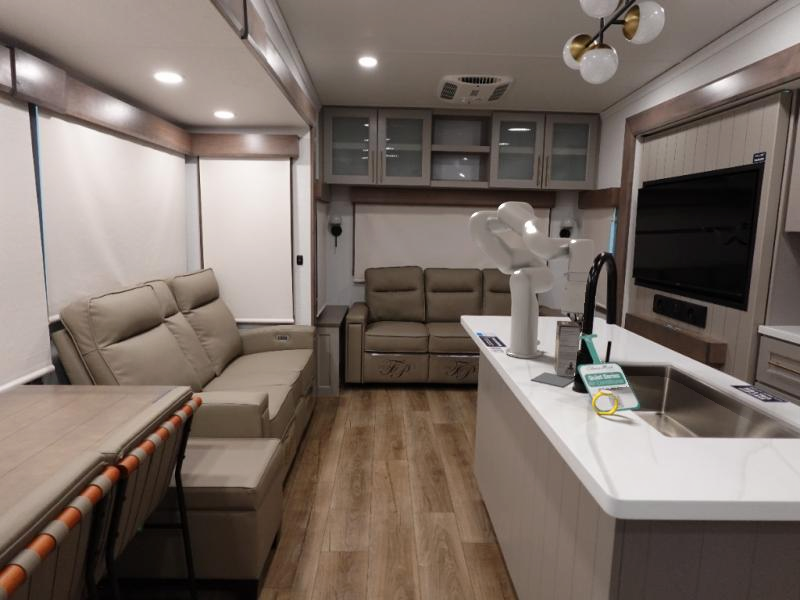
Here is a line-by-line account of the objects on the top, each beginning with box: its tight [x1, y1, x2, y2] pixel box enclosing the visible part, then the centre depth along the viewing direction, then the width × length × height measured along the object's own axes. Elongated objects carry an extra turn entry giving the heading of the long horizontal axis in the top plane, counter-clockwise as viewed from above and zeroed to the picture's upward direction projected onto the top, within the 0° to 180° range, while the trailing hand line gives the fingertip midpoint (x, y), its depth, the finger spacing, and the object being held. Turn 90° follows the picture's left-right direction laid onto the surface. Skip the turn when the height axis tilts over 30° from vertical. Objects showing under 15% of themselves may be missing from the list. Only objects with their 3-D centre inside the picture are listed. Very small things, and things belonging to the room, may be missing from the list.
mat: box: [530, 372, 574, 388], centre depth 150 cm, size 10×10×1 cm
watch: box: [591, 389, 619, 416], centre depth 123 cm, size 6×3×6 cm, turn 87°
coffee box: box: [553, 320, 581, 378], centre depth 156 cm, size 9×6×16 cm
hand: (576, 333), depth 162 cm, fingers closed
